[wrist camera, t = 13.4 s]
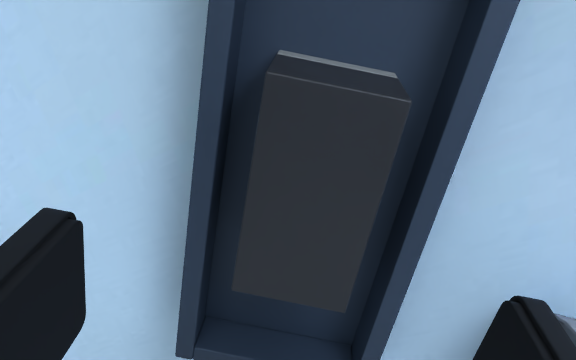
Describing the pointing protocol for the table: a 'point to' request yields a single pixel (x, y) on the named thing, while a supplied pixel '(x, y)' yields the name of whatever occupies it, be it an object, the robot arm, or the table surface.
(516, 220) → the table surface
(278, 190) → the eraser
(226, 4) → the tray
